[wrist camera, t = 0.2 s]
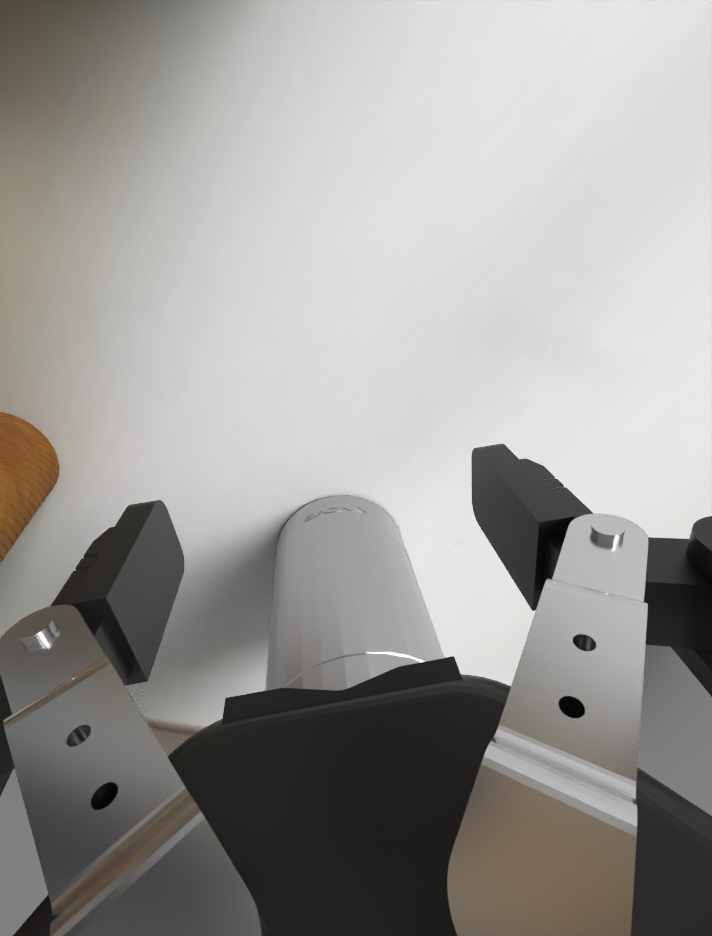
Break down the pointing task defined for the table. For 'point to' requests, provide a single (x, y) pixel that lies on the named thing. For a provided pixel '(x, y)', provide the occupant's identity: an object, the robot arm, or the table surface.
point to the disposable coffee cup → (22, 476)
